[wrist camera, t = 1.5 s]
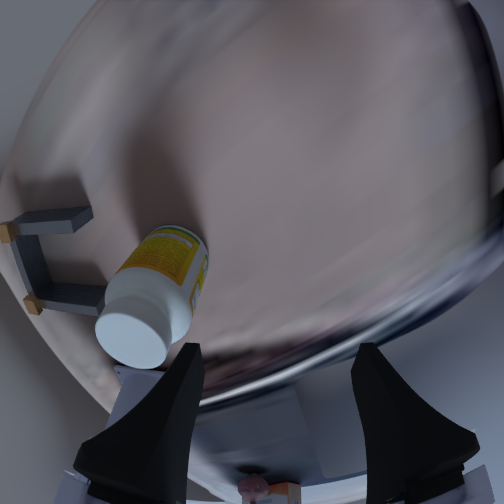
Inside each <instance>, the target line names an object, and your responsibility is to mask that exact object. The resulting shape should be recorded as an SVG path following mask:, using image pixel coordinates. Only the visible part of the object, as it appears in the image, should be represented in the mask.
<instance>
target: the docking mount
mask: <svg viewBox="0 0 504 504" xmlns="http://www.w3.org/2000/svg"><path fill="white" fill-rule="evenodd" d="M91 219H93V214H92V208H91V206H87V207H75V208H64V209H53V210H44V211H35V212H26V213H24V214H22V215H20V216H19V217H17V218H15V219H14V220H12V221H9V222H2V223H0V239H1V242H2V243H10V244H11V248H12V251H13V254H14V257H15V260H16V263H17V266H18V269H19V271H20V274H21V277H22V279H23V282H24V284H25V287H26V289H27V292H28V294H29V295H27V296H26V297H25V298H24V299H23V301H24V304H25V306H26V308H27V310H28V312H29V313H30V314H34V315H40V314H41V312H42V311H43V309H42V308H45V309H51V310H57V311H63V312H70V313H76V314H83V315H91V316H98V317H99V316H100V314H101V313H102V311H103V309H104V307H105V292H106V289H107V287H104V286H90V285H78V284H66V283H55V282H52V281H51V278H50V275H49V272H48V269H47V266H46V263H45V260H44V257H43V254H42V251H41V247H40V244H39V240H38V237H37V234H65V233H75V232H76V231H77V230H78V229H80V228H81V227H82V226H84V225H85V224H86V223H87V222H89V221H90V220H91Z"/></svg>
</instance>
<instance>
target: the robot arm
mask: <svg viewBox="0 0 504 504" xmlns="http://www.w3.org/2000/svg"><path fill="white" fill-rule="evenodd" d="M114 370H115V372H116V374H117V376H118V378H119V380H120V382H121V384H122V387H121V389H120V392H119V394H118V397H117V399H116V402H115V405H114V407H113V410H112V412H111V415H110V418H109V420H108V423H107V426H106V428H105V430H104V431H103V432H101V433H100V434H98V435H95V436H92V437H90V438H89V439H88V440H87V441H85V442H84V443H82V445H81V447H80V449H79V451H78V453H77V456H76V459H75V462H74V465H73V467H74V469H75V470H76V472H75V479H74V478H72V477H70V476H68V475H66V474H62V477H61V480H60V483H59V486H58V489H57V492H56V495H55V498H54V501H53V504H186V486H187V473H188V462H189V452H190V444H191V437H192V432H193V427H194V423H195V419H196V415H197V411H198V408H199V403H200V399H201V395H202V391H203V384H204V375H205V370H204V365H203V360H202V355H201V349H200V344H199V343H185V344H184V345H183V347H182V348H181V350H180V351H179V353H178V355H177V356H176V358H175V359H174V360H173V362H172V363H171V365H170V366H169V367H168V369H167V370H166V371H165V372H162V371H154V370H146V369H140V368H133V367H127V366H121V365H115V366H114ZM351 378H352V385H353V391H354V395H355V399H356V403H357V407H358V411H359V415H360V419H361V423H362V426H363V431H364V436H365V446H366V457H367V458H366V459H367V500H366V504H493V503H494V502H495V499H494V495H493V491H492V487H491V484H490V480H489V477H488V473H487V470H486V467H485V465H482V466H480V467H478V468H476V469H474V470H472V471H470V472H468V473H466V474H465V475H462V471H463V470H464V465H463V463H465V462H466V461H467V460H469V459H470V458H472V457H473V456H474V455H475V454H476V453H478V451H479V450H480V446H479V443H478V440H477V437H476V435H475V433H473V432H471V431H469V430H467V429H465V428H463V427H461V426H459V425H457V424H456V423H454V422H452V421H451V420H449V419H448V418H446V417H445V416H443V415H442V414H441V413H439V412H438V411H436V410H435V409H434V408H433V407H431V406H430V405H429V404H428V403H427V402H425V401H424V400H423V399H422V398H421V397H420V396H419V395H417V393H415V391H414V390H413V389H411V387H410V386H409V385H408V384H407V383H406V382H405V381H404V380H403V378H402V377H401V376H400V375H399V374H398V373H397V372H396V370H395V369H394V368H393V367H392V365H391V364H390V363H389V362H388V361H387V359H386V358H385V357H384V356H383V354H382V353H381V352H380V350H379V349H378V348H377V347H376V345H375V344H374V343H373V342H370V343H361V344H360V347H359V350H358V353H357V355H356V358H355V361H354V364H353V367H352V369H351Z"/></svg>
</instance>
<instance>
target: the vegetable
mask: <svg viewBox="0 0 504 504" xmlns="http://www.w3.org/2000/svg"><path fill="white" fill-rule="evenodd" d="M238 492H239V494H240V495H241V496H242V497H243V498H245V499H247V500H248V501H249V502H250V504H256V502H257V501H258V500H260V499H262V498H264V497H265V496H266V495H267V494H268V492H269V485H268V483H267V482H266V481H265V480H264V479H263V478H262V477H261V476H259V475H258V474H253V473H252V474H249V476H247V477H245V478H243V479H242V480H241V481H240V482H239V484H238Z"/></svg>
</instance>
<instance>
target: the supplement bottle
mask: <svg viewBox="0 0 504 504" xmlns="http://www.w3.org/2000/svg"><path fill="white" fill-rule="evenodd" d="M208 266H209V256H208V252H207V249H206V247H205V245H204V243H203V242H202V241H201V239H200V238H199V237H198V236H197V235H196V234H194V233H193V232H191V231H189V230H187V229H185V228H183V227H180V226H175V225H166V226H161V227H159V228H156V229H155V230H153V231H152V232H150V233H149V234H148V235H147V236H146V238H145V239H144V240H143V241H142V242H141V243H140V244H139V246H138V247H137V248H136V249H135V250H134V252H133V253H132V254H131V255H130V256H129V258H128V259H127V260H126V261H125V263H124V264H123V265H122V266H121V268H120V269H119V270H118V271H117V272H116V274H115V275H114V276H113V277H112V279H111V280H110V282H109V284H108V286H107V289H106V292H105V307H104V309H103V311H102V313H101V314H100V316H99V318H98V320H97V322H96V325H95V333H96V336H97V339H98V341H99V343H100V345H101V346H102V347H103V348H104V350H105V351H106V352H107V353H108V354H109V355H111V356H112V357H113V358H115V359H116V360H118V361H119V362H121V363H123V364H125V365H128V366H131V367H134V368H140V369H150V368H154V367H157V366H159V365H160V364H162V363H163V361H164V360H165V358H166V356H167V353H168V350H169V348H170V346H171V344H172V343H175V342H176V341H178V340H179V339H181V338H182V337H183V336H184V335H185V334H186V332H187V330H188V329H189V326H190V324H191V321H192V318H193V315H194V311H195V308H196V305H197V302H198V299H199V296H200V293H201V290H202V286H203V283H204V280H205V277H206V274H207V270H208Z"/></svg>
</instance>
